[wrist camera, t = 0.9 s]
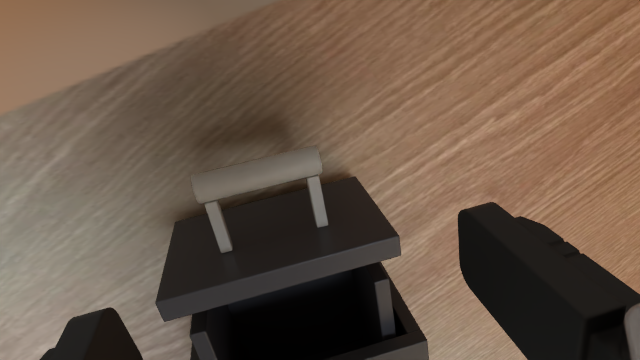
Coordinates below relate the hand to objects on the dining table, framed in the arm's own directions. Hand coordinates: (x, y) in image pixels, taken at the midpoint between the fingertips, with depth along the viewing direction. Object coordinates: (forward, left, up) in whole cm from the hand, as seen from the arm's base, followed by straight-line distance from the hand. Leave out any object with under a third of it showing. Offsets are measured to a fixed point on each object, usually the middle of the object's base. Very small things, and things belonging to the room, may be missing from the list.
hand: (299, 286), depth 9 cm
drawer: (+10, -1, -15) cm, 18 cm away
